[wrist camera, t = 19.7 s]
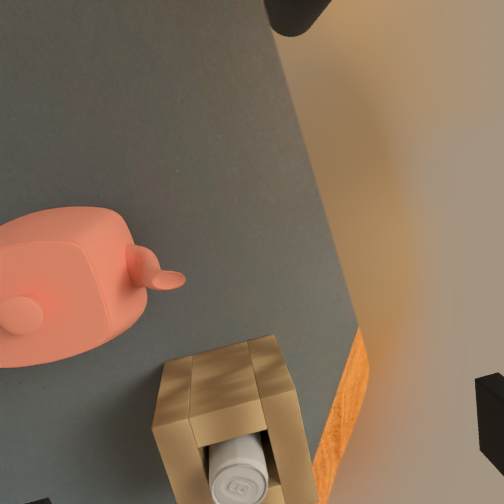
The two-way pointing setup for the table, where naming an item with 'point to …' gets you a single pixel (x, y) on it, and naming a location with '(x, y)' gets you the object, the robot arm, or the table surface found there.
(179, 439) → the wooden box
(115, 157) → the table surface
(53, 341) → the teapot
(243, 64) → the table surface
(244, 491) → the beverage can
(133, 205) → the table surface
